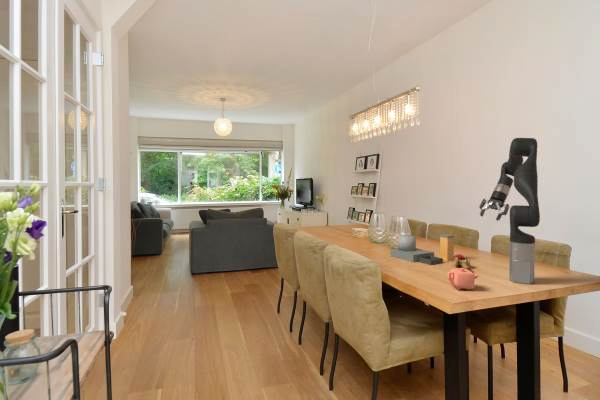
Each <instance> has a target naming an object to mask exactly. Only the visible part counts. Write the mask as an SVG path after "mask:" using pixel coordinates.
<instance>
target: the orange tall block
mask: <svg viewBox="0 0 600 400" xmlns="http://www.w3.org/2000/svg"><path fill="white" fill-rule="evenodd" d="M454 245H455V235H454V234H448V233H447V234H446V233H444V234H439V258H443V261H446V262H450V261H453V257H454V256H455V254H454V253H455V248H454V247H455V246H454Z"/></svg>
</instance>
